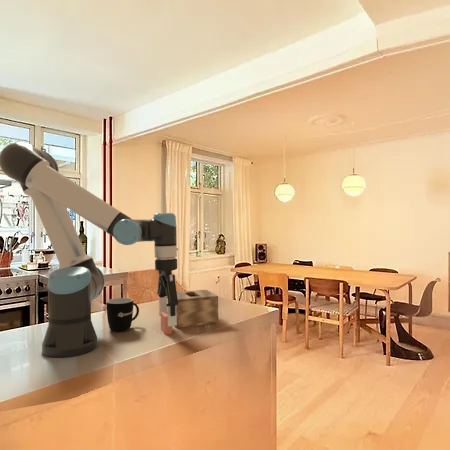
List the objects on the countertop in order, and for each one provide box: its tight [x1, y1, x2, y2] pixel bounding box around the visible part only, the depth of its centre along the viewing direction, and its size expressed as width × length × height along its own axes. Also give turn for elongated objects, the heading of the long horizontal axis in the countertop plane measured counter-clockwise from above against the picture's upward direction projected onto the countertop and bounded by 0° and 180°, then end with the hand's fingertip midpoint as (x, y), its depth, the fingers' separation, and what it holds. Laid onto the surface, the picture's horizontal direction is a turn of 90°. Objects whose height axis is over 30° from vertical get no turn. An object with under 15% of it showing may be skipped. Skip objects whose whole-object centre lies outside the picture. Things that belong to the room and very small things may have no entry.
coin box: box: [167, 289, 219, 329], centre depth 135 cm, size 16×13×10 cm
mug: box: [105, 297, 140, 333], centre depth 126 cm, size 12×9×10 cm
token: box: [160, 312, 173, 335], centre depth 122 cm, size 2×6×6 cm, turn 22°
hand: (167, 320), depth 122 cm, fingers open, 13 cm apart
